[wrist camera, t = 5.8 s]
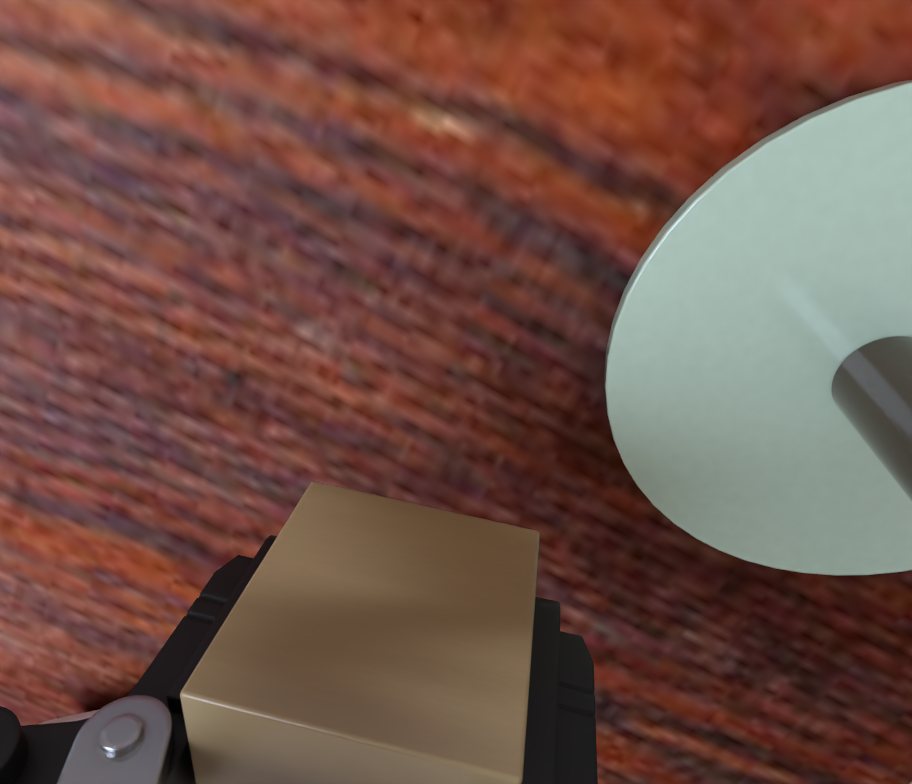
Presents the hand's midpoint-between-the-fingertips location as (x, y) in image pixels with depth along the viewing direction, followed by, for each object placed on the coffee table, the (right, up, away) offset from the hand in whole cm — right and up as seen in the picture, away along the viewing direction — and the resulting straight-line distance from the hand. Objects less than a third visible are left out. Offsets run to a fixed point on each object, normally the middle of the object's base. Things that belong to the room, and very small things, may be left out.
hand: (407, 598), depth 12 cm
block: (0, 0, 0) cm, 0 cm away
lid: (+12, +5, +3) cm, 13 cm away
